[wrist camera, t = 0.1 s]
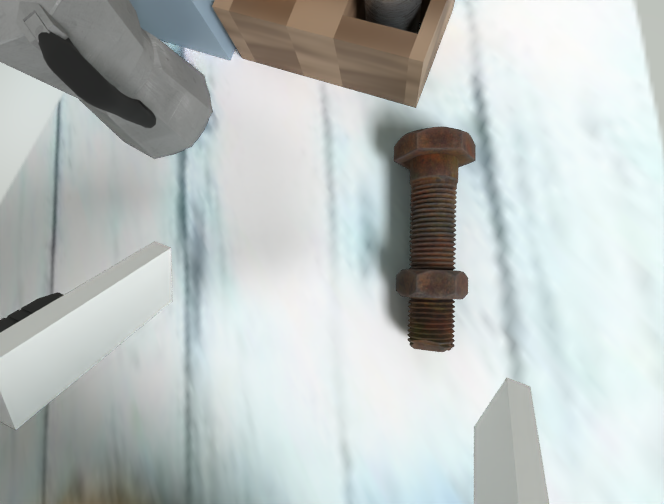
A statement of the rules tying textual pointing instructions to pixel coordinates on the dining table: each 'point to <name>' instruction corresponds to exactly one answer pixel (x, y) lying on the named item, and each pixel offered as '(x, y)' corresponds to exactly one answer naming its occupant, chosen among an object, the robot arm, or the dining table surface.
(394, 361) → the dining table surface
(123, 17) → the coffeepot
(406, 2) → the brushed steel rod
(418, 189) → the bolt
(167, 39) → the block
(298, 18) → the socket block
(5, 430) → the dining table surface
